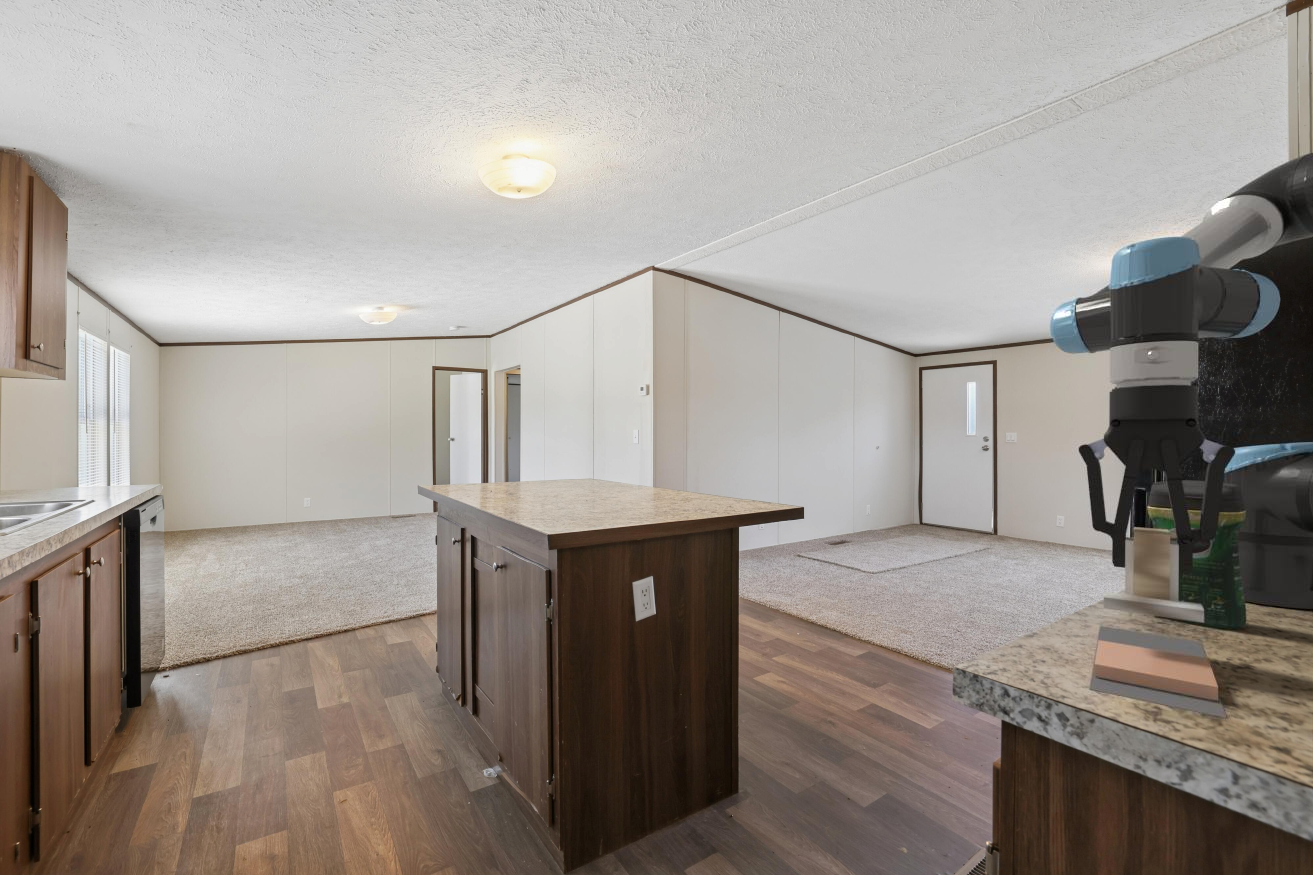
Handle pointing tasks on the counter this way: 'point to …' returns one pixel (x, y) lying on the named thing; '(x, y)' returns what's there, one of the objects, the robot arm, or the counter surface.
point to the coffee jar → (1208, 554)
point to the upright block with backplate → (1153, 581)
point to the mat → (1148, 693)
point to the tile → (1156, 669)
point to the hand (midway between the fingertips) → (1150, 599)
